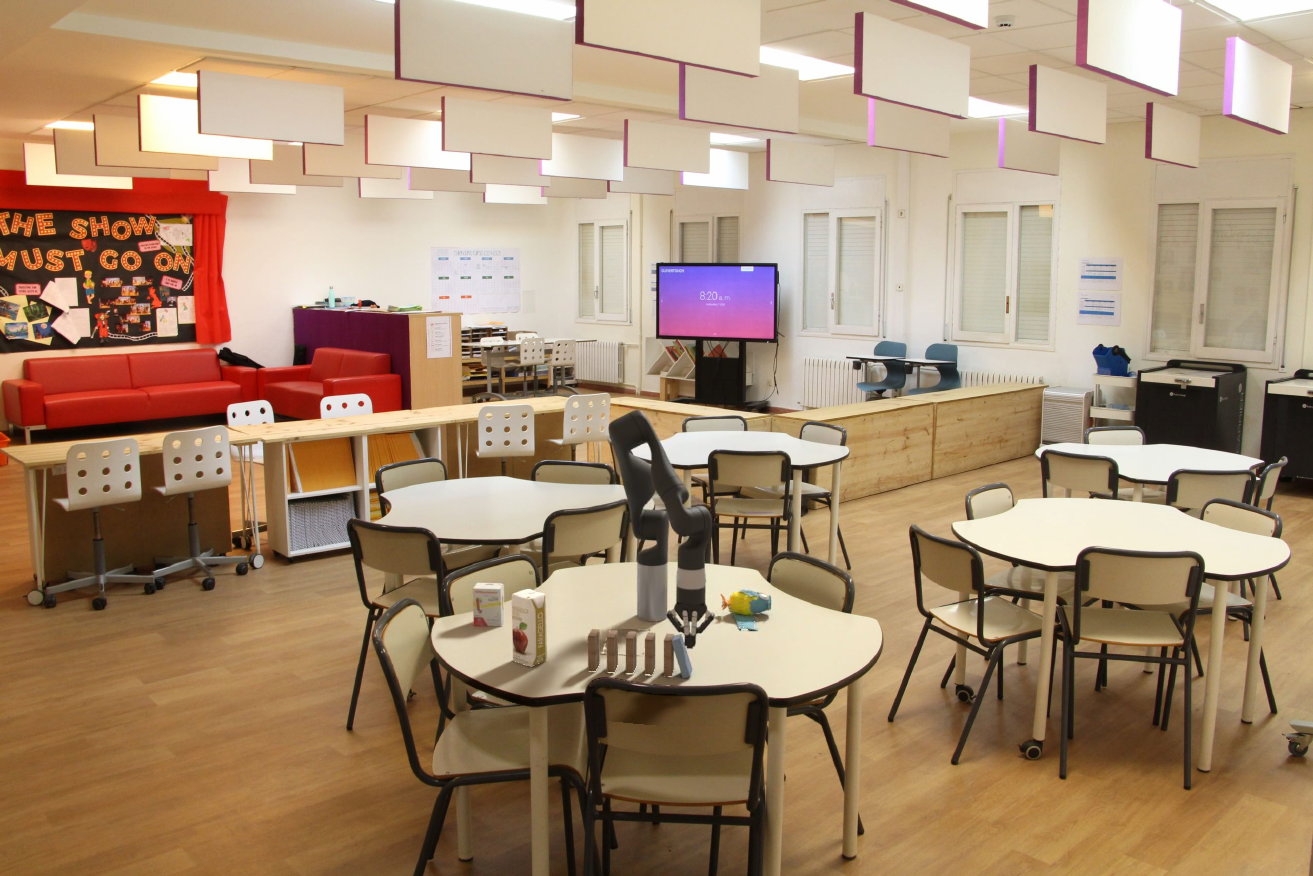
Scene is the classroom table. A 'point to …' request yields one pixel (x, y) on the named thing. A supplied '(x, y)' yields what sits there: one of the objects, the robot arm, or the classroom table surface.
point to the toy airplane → (747, 607)
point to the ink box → (488, 604)
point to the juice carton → (529, 627)
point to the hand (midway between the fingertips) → (690, 647)
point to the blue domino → (682, 656)
